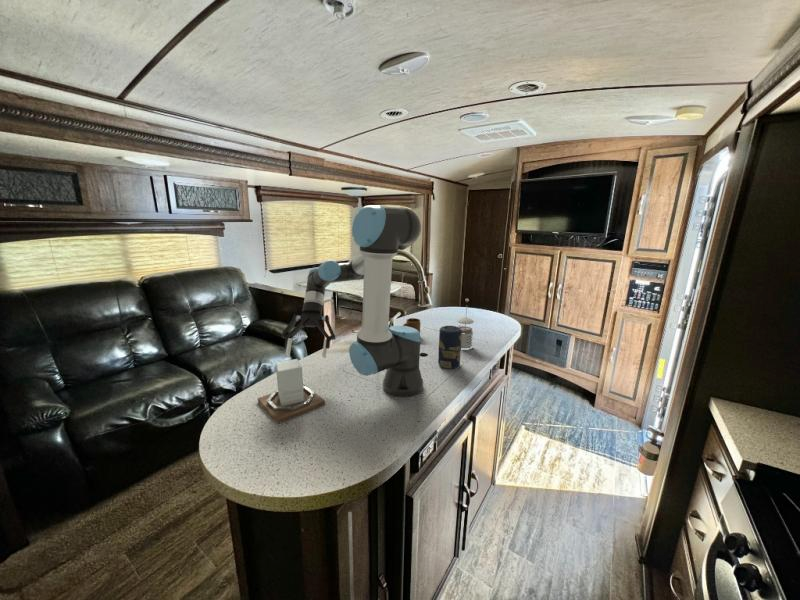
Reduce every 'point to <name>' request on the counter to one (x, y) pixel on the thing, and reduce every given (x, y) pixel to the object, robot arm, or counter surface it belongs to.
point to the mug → (413, 323)
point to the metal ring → (278, 408)
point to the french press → (466, 331)
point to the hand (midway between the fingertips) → (305, 356)
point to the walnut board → (286, 415)
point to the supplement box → (289, 382)
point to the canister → (449, 346)
